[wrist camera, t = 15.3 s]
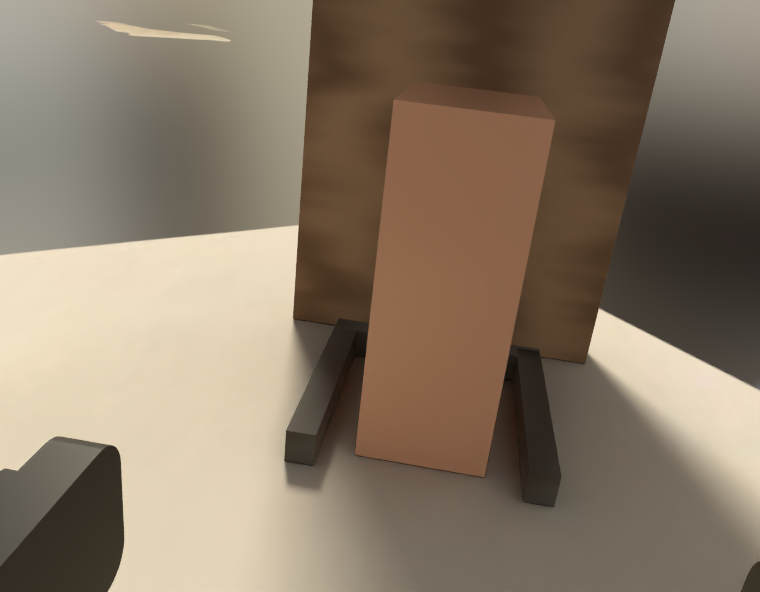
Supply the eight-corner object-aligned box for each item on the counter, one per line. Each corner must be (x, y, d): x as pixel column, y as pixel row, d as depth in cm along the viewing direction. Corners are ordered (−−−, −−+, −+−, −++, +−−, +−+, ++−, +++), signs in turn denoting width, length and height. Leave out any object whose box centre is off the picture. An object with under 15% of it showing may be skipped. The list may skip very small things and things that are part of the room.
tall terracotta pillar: (354, 454, 24) (393, 99, 20) (379, 373, 30) (414, 81, 25) (484, 477, 24) (555, 120, 19) (484, 390, 29) (540, 96, 25)
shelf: (177, 505, 21) (166, -646, 12) (302, 302, 36) (342, -277, 26) (652, 590, 20) (1059, -612, 10) (579, 344, 34) (722, -247, 25)
